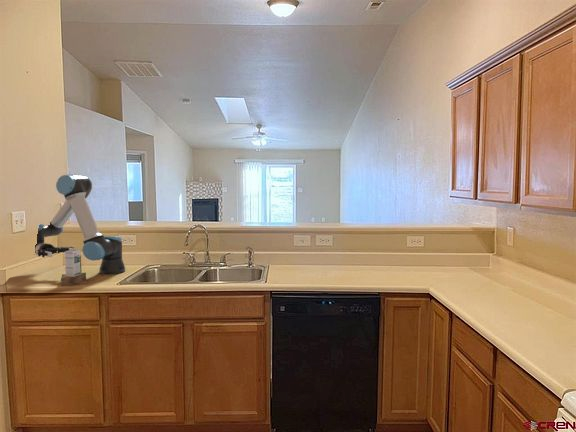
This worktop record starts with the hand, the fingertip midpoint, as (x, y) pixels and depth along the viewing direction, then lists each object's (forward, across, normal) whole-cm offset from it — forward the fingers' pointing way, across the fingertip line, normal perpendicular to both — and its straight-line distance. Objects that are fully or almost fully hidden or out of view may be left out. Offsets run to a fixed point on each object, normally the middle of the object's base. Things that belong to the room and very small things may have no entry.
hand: (63, 253), depth 223 cm
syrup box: (+10, 0, -12) cm, 16 cm away
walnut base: (+10, 0, -16) cm, 19 cm away
